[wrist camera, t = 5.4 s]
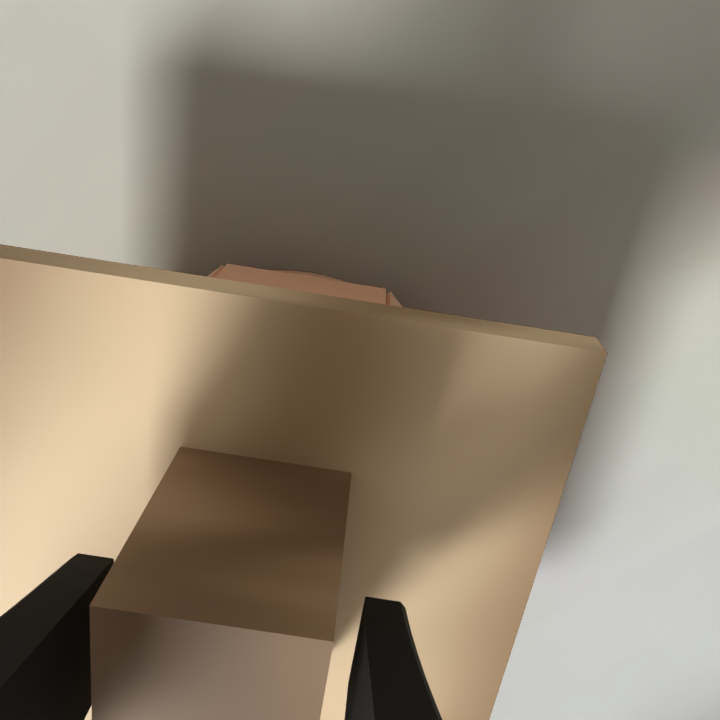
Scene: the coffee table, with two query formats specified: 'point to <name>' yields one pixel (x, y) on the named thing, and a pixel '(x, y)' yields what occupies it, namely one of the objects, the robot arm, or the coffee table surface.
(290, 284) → the terracotta bowl
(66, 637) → the robot arm
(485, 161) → the coffee table surface
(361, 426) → the oak lid
